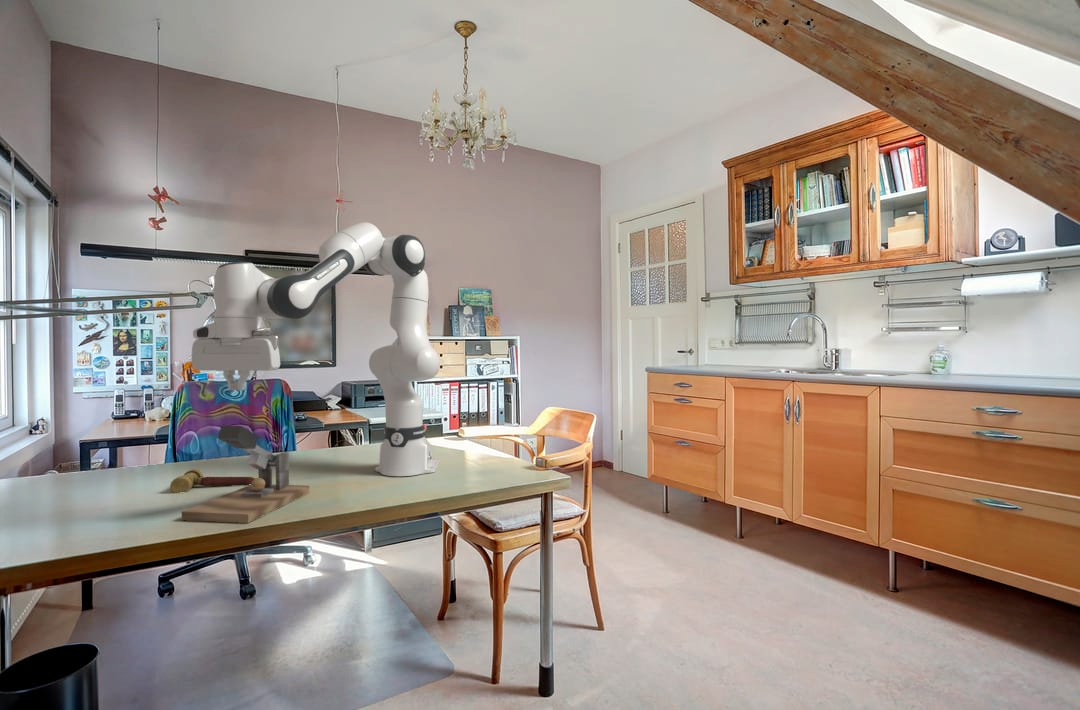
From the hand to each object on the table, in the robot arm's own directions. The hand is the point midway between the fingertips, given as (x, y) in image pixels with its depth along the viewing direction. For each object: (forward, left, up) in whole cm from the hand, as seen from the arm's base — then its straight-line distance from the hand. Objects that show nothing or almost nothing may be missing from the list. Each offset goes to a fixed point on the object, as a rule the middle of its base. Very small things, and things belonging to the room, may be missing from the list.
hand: (236, 390), depth 123 cm
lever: (-4, 0, -18) cm, 19 cm away
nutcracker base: (-5, 0, -29) cm, 29 cm away
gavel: (-21, -21, -29) cm, 41 cm away
